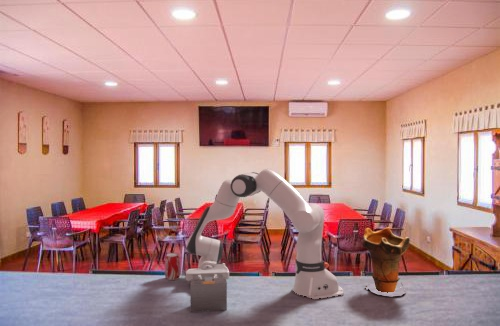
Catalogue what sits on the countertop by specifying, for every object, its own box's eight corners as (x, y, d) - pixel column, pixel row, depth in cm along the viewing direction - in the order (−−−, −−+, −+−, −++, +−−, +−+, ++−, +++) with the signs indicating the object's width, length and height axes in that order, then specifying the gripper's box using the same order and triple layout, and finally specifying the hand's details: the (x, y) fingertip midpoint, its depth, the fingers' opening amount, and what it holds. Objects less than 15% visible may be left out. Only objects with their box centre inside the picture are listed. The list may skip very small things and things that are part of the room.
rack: (225, 303, 151) (225, 276, 151) (226, 310, 145) (226, 281, 145) (190, 305, 149) (190, 277, 149) (190, 312, 143) (190, 283, 143)
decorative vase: (382, 303, 152) (381, 235, 152) (352, 286, 174) (351, 226, 174) (424, 297, 158) (423, 232, 158) (389, 281, 180) (388, 224, 180)
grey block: (211, 300, 155) (211, 277, 154) (212, 308, 147) (212, 284, 146) (204, 300, 154) (204, 277, 154) (205, 309, 146) (204, 284, 146)
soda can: (176, 281, 177) (176, 257, 176) (162, 280, 178) (162, 256, 178) (182, 276, 184) (181, 253, 183) (168, 275, 185) (168, 252, 185)
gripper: (185, 264, 176) (184, 274, 163) (228, 263, 179) (230, 272, 165) (185, 277, 177) (184, 288, 163) (228, 275, 179) (230, 286, 166)
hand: (207, 280), depth 164 cm, fingers open, 4 cm apart
